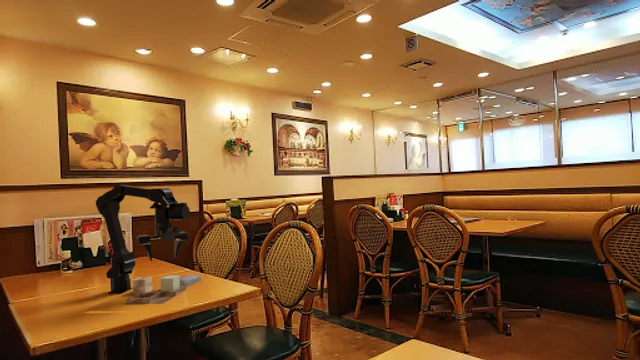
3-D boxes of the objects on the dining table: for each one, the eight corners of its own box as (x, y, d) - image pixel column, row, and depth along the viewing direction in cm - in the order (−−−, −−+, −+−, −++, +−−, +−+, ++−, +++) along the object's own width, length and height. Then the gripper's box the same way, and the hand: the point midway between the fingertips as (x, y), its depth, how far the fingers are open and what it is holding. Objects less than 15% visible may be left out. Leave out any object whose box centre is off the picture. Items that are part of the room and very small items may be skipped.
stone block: (167, 293, 157) (189, 289, 155) (164, 282, 158) (186, 277, 156) (183, 287, 169) (203, 282, 167) (181, 276, 169) (201, 271, 168)
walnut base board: (125, 306, 136) (124, 299, 136) (152, 292, 153) (152, 286, 153) (163, 305, 134) (162, 299, 134) (186, 291, 152) (186, 285, 152)
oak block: (133, 295, 150) (132, 280, 150) (140, 292, 155) (139, 277, 155) (145, 295, 149) (144, 279, 149) (152, 291, 154) (151, 276, 154)
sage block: (161, 294, 146) (160, 278, 146) (167, 291, 151) (167, 275, 151) (173, 294, 145) (173, 278, 145) (179, 290, 150) (179, 275, 150)
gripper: (142, 223, 141) (142, 266, 141) (193, 219, 152) (193, 259, 152) (135, 221, 150) (136, 261, 150) (184, 217, 161) (184, 255, 161)
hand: (163, 259), depth 153 cm, fingers open, 9 cm apart
